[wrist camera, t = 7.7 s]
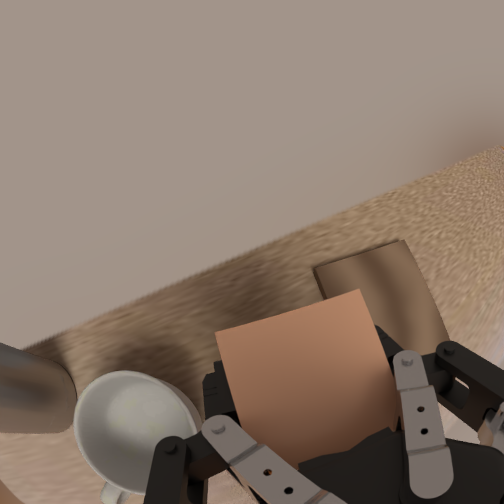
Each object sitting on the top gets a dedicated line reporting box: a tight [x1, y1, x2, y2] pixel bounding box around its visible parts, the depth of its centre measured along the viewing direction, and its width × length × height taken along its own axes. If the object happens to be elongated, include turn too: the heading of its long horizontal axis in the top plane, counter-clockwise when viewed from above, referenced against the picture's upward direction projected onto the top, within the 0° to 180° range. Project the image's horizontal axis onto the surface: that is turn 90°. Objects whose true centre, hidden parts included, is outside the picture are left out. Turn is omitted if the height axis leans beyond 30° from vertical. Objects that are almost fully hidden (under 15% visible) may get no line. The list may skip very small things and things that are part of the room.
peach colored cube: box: [215, 289, 396, 470], centre depth 14 cm, size 6×6×8 cm
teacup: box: [73, 370, 203, 504], centre depth 21 cm, size 14×11×8 cm
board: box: [313, 240, 450, 355], centre depth 29 cm, size 12×16×1 cm
